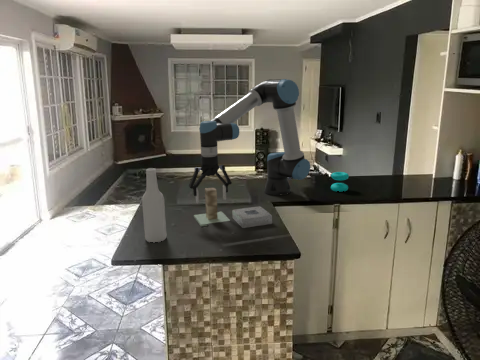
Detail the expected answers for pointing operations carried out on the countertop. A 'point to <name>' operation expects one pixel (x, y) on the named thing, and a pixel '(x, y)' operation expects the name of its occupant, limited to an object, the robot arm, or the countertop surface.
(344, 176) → the donuts
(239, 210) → the hole block
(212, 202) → the square peg
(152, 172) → the alcohol
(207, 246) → the countertop surface
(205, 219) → the pad
